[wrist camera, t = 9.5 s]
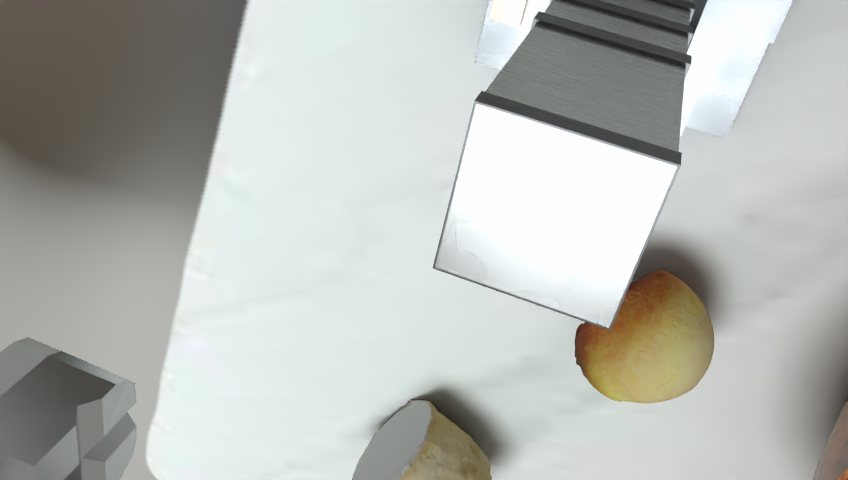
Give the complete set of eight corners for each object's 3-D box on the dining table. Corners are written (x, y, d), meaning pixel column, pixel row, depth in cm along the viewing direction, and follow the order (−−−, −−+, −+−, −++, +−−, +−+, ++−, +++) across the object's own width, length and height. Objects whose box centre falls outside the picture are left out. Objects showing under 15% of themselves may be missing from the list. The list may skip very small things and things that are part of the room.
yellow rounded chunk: (390, 408, 51) (470, 550, 49) (461, 370, 60) (531, 489, 58) (296, 466, 55) (366, 599, 53) (375, 423, 64) (437, 535, 62)
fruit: (577, 339, 52) (557, 419, 46) (598, 231, 48) (580, 302, 41) (695, 366, 50) (693, 453, 44) (728, 257, 46) (731, 335, 40)
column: (589, -55, 30) (473, 97, 15) (697, -26, 30) (684, 163, 15) (558, 49, 33) (430, 269, 18) (657, 78, 32) (611, 333, 17)
